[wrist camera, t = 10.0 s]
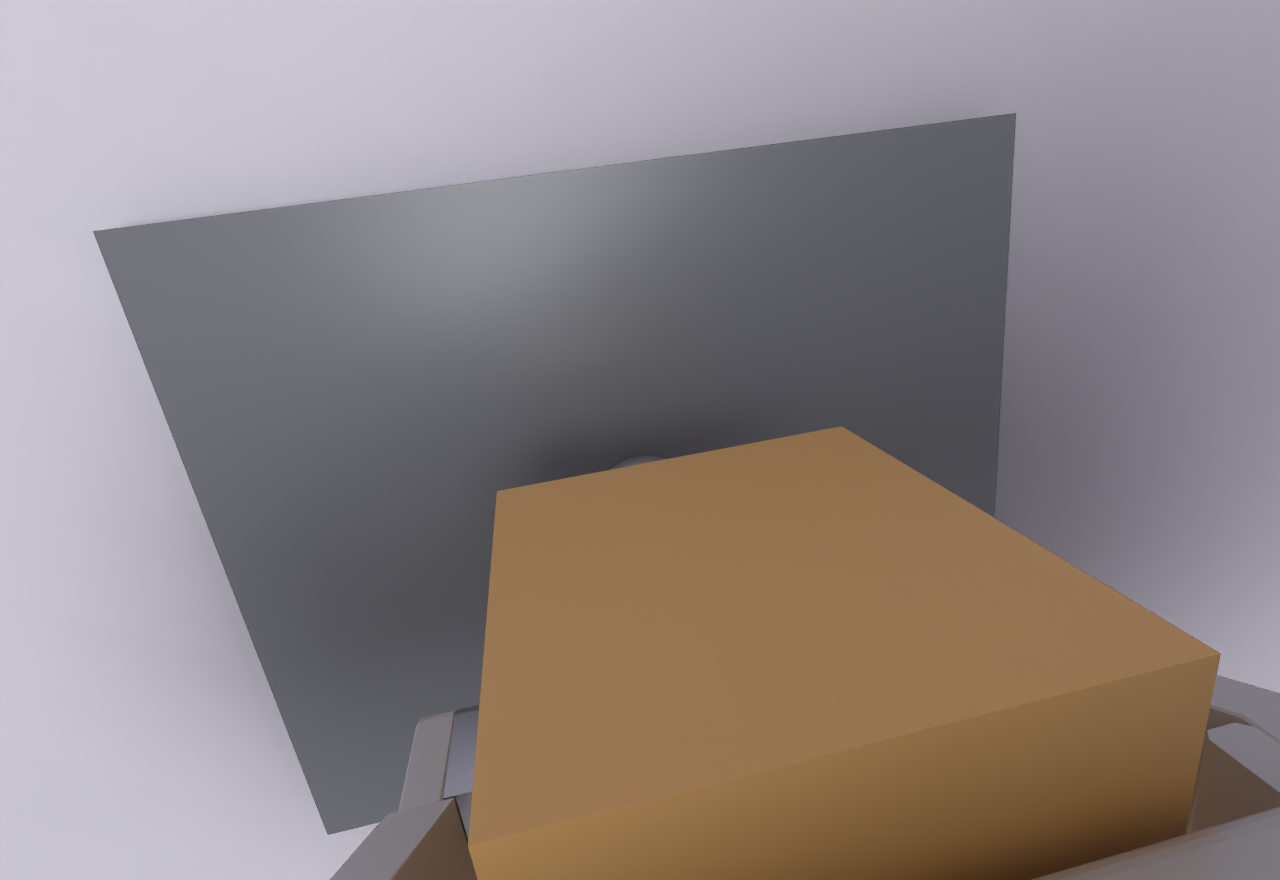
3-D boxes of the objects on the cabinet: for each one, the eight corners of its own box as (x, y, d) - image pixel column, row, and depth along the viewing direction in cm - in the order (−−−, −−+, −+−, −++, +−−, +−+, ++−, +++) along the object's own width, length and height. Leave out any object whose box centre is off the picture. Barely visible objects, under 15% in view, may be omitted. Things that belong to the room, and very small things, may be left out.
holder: (987, 120, 16) (1153, 80, 12) (965, 653, 21) (1075, 756, 17) (121, 231, 14) (-56, 230, 9) (337, 804, 19) (284, 970, 15)
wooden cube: (841, 425, 11) (1220, 653, 5) (850, 702, 13) (1132, 1103, 7) (497, 490, 11) (468, 845, 4) (559, 774, 12) (598, 1291, 6)
